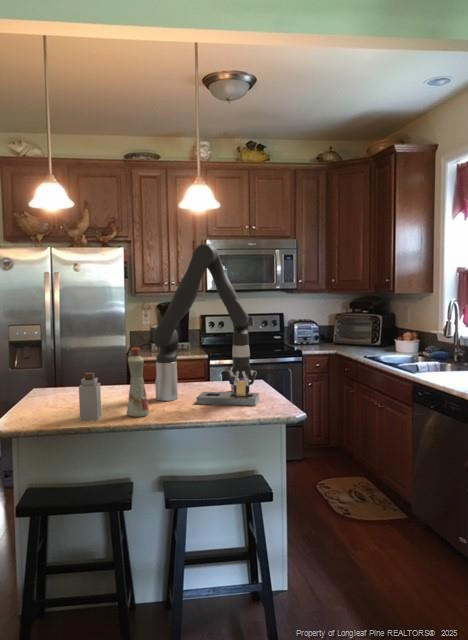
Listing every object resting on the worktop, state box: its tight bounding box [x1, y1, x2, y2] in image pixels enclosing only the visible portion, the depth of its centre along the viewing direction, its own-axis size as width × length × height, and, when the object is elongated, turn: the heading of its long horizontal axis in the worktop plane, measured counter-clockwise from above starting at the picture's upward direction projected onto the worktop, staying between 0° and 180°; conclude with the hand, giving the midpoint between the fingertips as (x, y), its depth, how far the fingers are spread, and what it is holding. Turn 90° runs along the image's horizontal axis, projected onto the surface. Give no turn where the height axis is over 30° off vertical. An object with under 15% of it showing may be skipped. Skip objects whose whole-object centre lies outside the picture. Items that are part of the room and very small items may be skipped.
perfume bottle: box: [78, 372, 102, 421], centre depth 203 cm, size 7×7×18 cm
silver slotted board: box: [196, 391, 260, 407], centre depth 228 cm, size 26×12×3 cm, turn 79°
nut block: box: [236, 381, 247, 396], centre depth 226 cm, size 4×4×6 cm
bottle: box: [126, 346, 150, 418], centre depth 206 cm, size 9×9×28 cm
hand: (241, 393), depth 226 cm, fingers closed on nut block, 4 cm apart
